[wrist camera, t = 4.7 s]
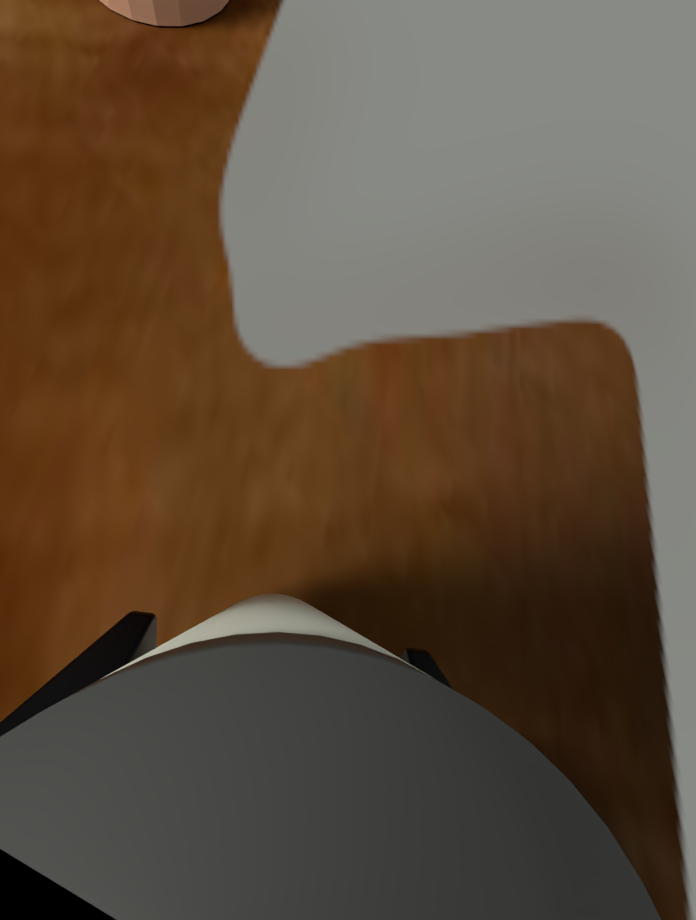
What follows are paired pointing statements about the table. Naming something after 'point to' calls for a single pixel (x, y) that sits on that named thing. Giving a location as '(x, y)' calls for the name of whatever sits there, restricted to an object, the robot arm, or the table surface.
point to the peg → (292, 792)
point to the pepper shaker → (166, 10)
